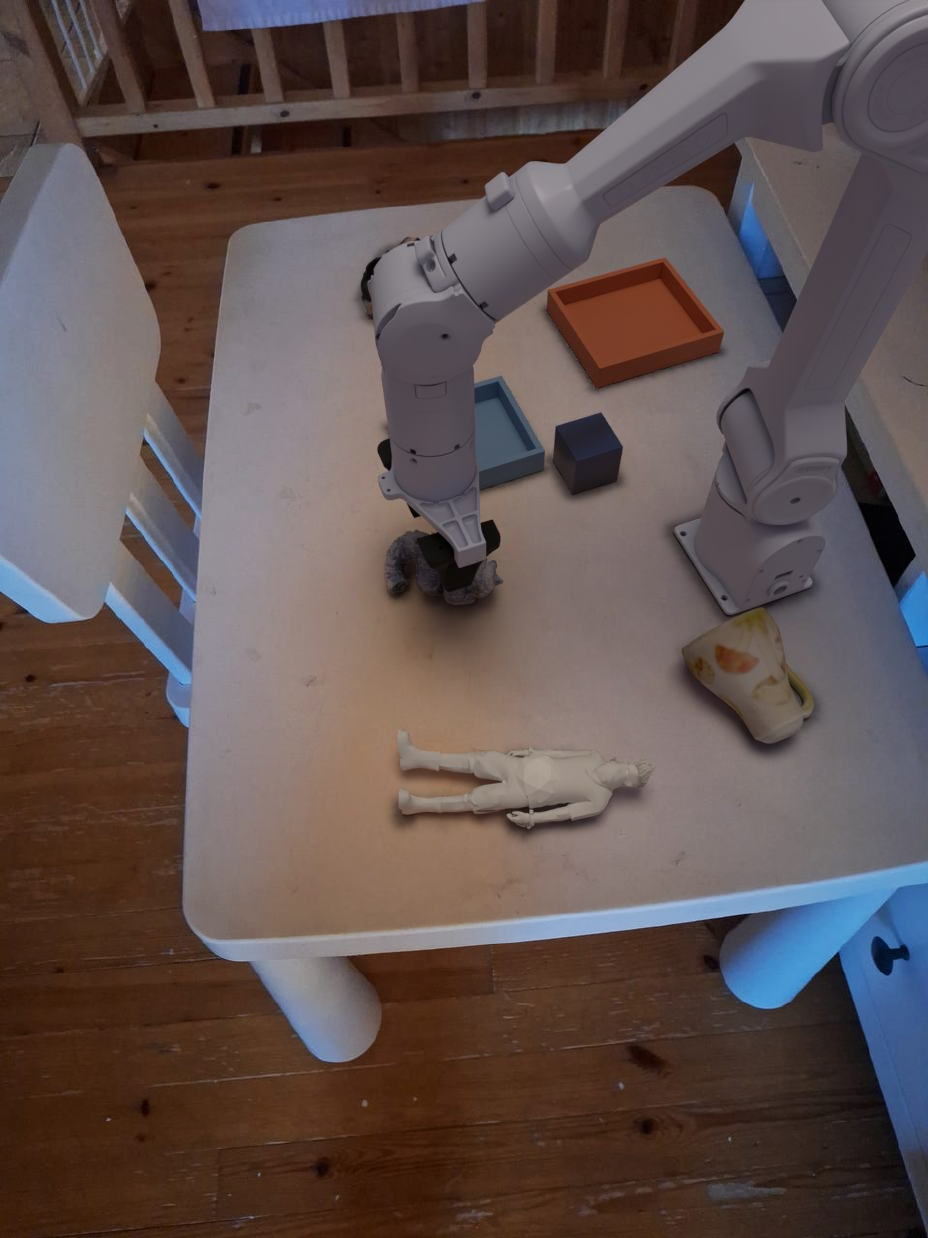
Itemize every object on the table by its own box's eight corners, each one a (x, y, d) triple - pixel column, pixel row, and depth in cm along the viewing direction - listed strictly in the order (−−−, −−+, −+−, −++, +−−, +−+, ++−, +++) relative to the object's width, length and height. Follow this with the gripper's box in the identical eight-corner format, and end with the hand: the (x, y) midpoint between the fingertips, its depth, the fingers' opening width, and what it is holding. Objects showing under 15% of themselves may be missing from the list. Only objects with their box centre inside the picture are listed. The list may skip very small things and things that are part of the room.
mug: (751, 779, 66) (717, 684, 60) (692, 702, 74) (658, 612, 68) (843, 732, 65) (818, 632, 60) (775, 660, 73) (746, 566, 68)
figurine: (396, 727, 64) (650, 710, 63) (404, 746, 68) (645, 730, 67) (396, 826, 61) (664, 809, 60) (405, 840, 65) (658, 825, 63)
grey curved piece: (385, 587, 77) (501, 608, 75) (371, 592, 71) (495, 614, 70) (395, 525, 76) (512, 545, 75) (381, 525, 71) (507, 547, 70)
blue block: (617, 480, 80) (623, 446, 77) (572, 494, 80) (576, 461, 76) (596, 446, 83) (601, 411, 79) (552, 459, 82) (555, 425, 78)
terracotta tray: (719, 351, 89) (724, 331, 87) (597, 388, 87) (599, 368, 84) (661, 277, 95) (665, 256, 93) (546, 309, 93) (547, 289, 91)
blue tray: (543, 469, 81) (545, 450, 79) (426, 506, 80) (425, 488, 77) (501, 394, 86) (501, 374, 84) (390, 427, 85) (388, 407, 82)
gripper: (341, 368, 62) (364, 495, 74) (409, 524, 55) (423, 637, 66) (437, 341, 63) (445, 470, 75) (517, 490, 56) (512, 607, 67)
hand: (441, 547), depth 71 cm, fingers open, 7 cm apart
